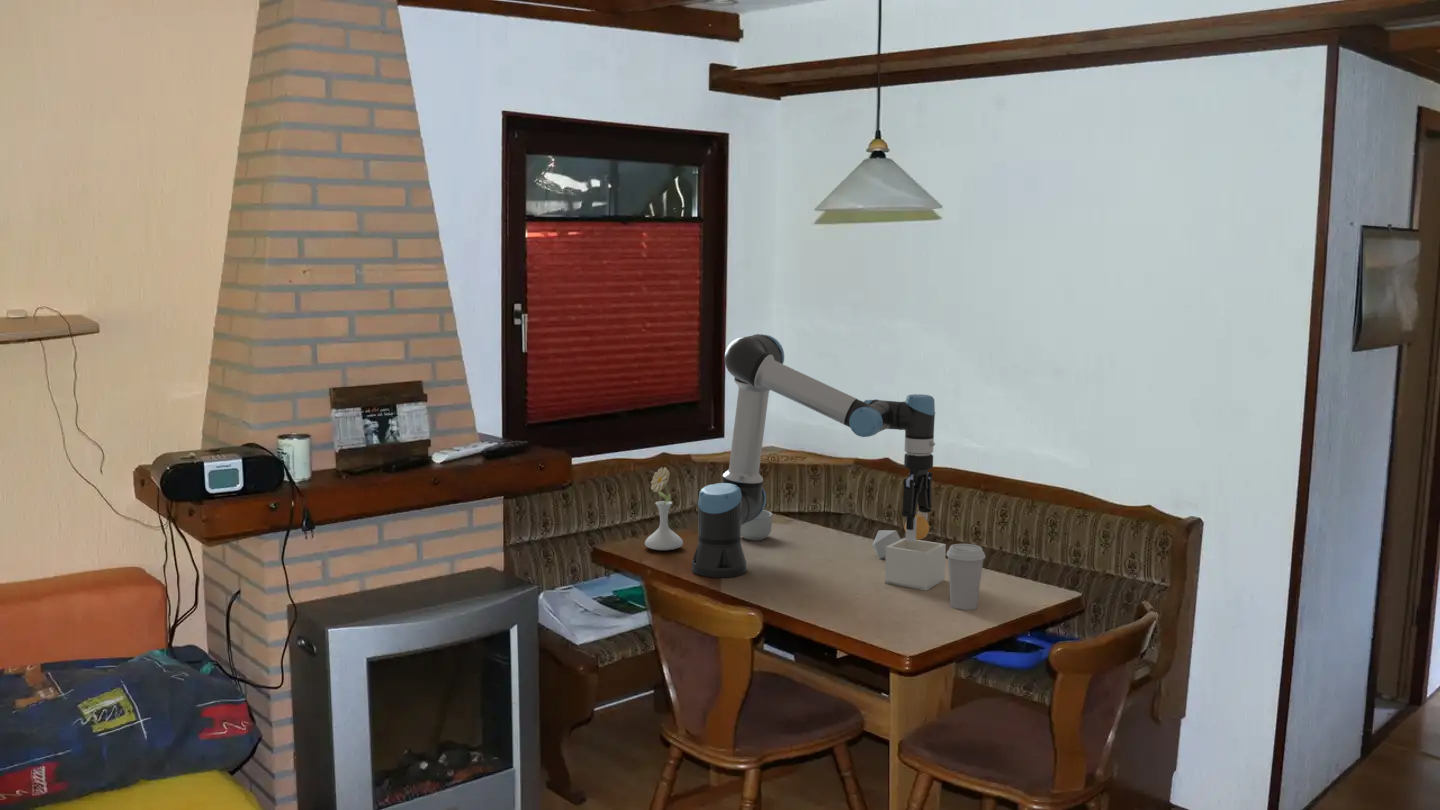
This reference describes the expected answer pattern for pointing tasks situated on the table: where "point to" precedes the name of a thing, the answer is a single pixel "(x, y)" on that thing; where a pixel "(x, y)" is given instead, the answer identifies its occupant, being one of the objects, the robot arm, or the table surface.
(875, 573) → the table surface
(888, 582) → the white open box
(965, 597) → the coffee cup
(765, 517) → the teacup
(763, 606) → the table surface
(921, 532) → the ball
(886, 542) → the die
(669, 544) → the flower in vase
